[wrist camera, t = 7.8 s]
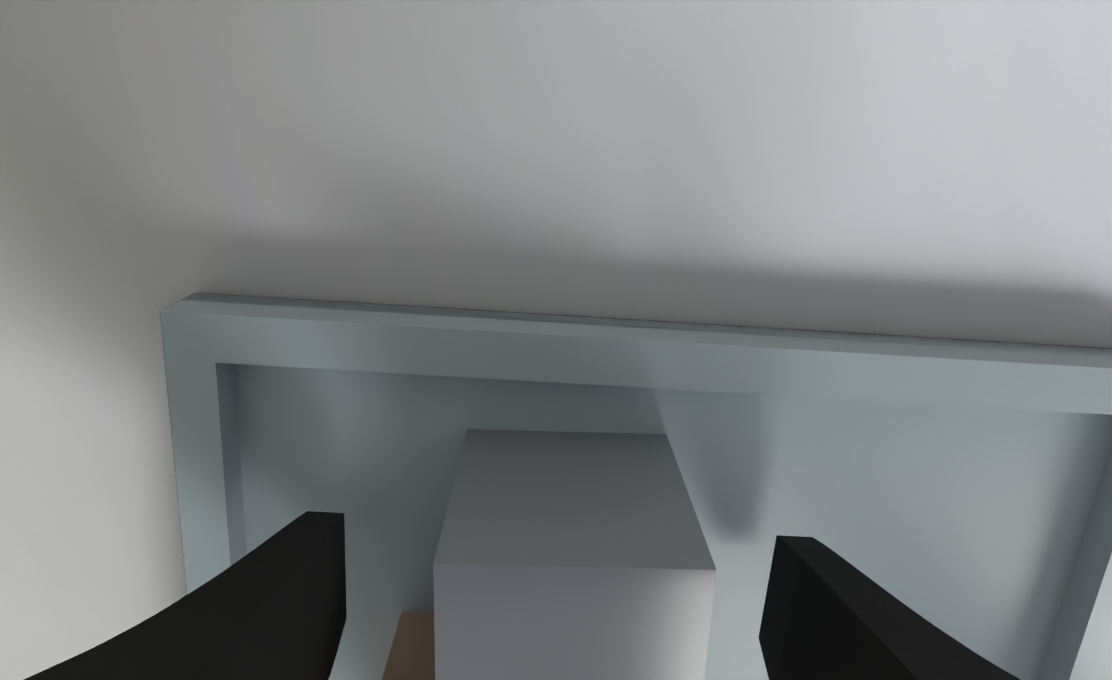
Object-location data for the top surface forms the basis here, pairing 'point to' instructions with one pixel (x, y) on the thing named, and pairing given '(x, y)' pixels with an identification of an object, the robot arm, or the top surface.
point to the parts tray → (699, 448)
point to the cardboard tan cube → (412, 648)
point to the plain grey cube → (570, 561)
